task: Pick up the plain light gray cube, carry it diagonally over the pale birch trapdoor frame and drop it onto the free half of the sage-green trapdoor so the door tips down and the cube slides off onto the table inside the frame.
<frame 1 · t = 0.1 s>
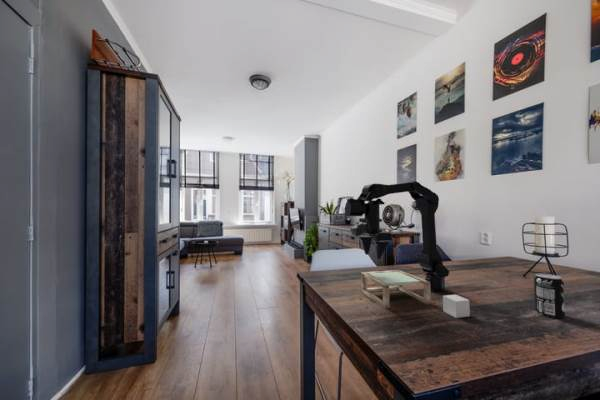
hand: (372, 256, 94), 15 cm above the table, tool pointing down, fingers open, 9 cm apart
beverage can: (549, 315, 76), on the table
trapdoor: (393, 278, 92), point 7 cm above the table, hinge at 0.0°
plain light gray cube: (456, 313, 77), on the table
trapdoor frame: (393, 297, 91), on the table
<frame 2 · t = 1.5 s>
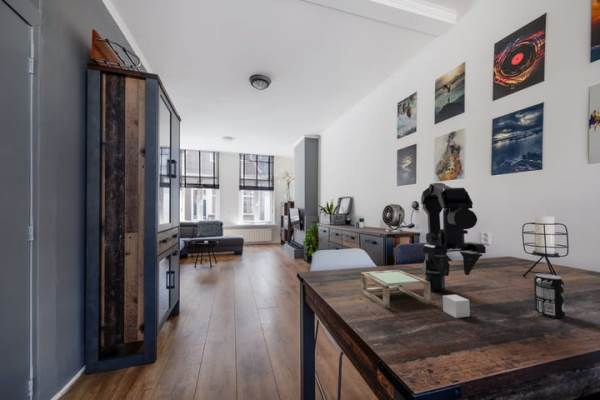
hand: (454, 275, 78), 12 cm above the table, tool pointing down, fingers open, 9 cm apart
nothing on the table moved.
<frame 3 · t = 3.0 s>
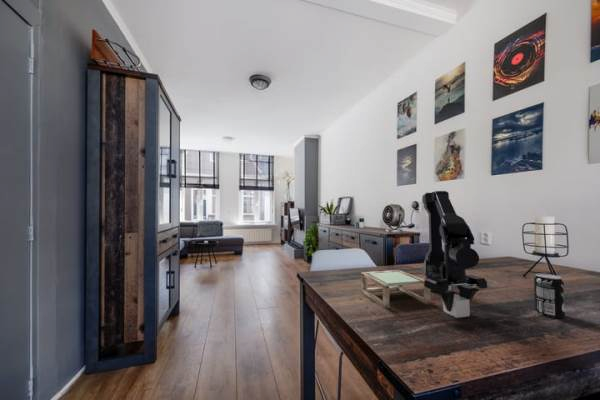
hand: (456, 310, 77), 1 cm above the table, tool pointing down, fingers closed on plain light gray cube, 5 cm apart
plain light gray cube: (456, 313, 77), on the table, touching gripper
everything else where it was.
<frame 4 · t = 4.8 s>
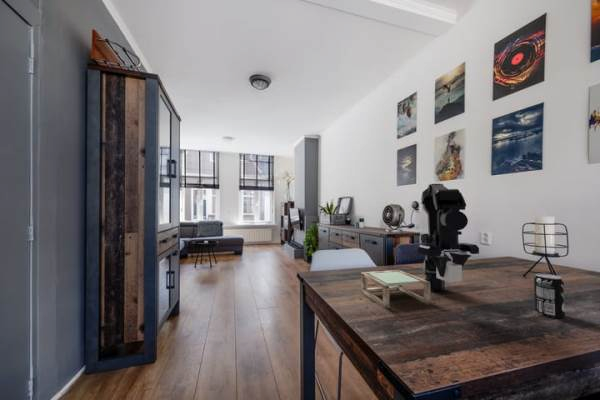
hand: (448, 276, 79), 11 cm above the table, tool pointing down, fingers closed on plain light gray cube, 5 cm apart
plain light gray cube: (449, 279, 79), point 10 cm above the table, touching gripper
everything else where it was.
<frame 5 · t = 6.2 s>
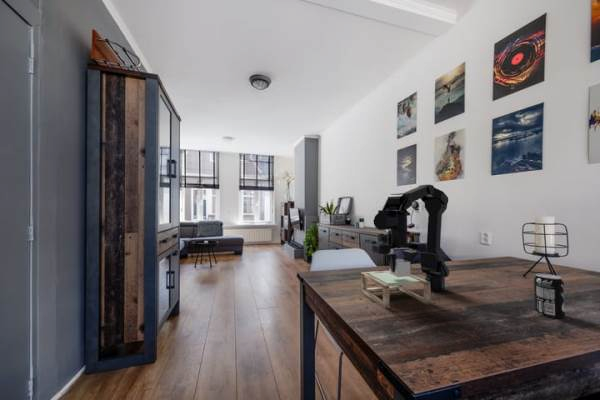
hand: (399, 271, 88), 10 cm above the table, tool pointing down, fingers closed on plain light gray cube, 5 cm apart
plain light gray cube: (399, 274, 88), point 9 cm above the table, touching gripper
everything else where it was.
when the fingers open (10 cm above the table, at t = 6.4 s): plain light gray cube drops 8 cm and tips over, point 2 cm above the table.
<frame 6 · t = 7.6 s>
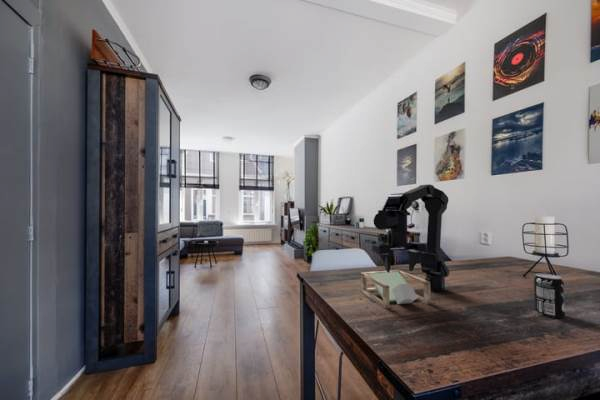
hand: (399, 271, 88), 10 cm above the table, tool pointing down, fingers open, 9 cm apart
trapdoor: (392, 285, 92), point 4 cm above the table, hinge at -28.3°
plain light gray cube: (401, 296, 87), point 2 cm above the table, tilted 51°
everything else where it was.
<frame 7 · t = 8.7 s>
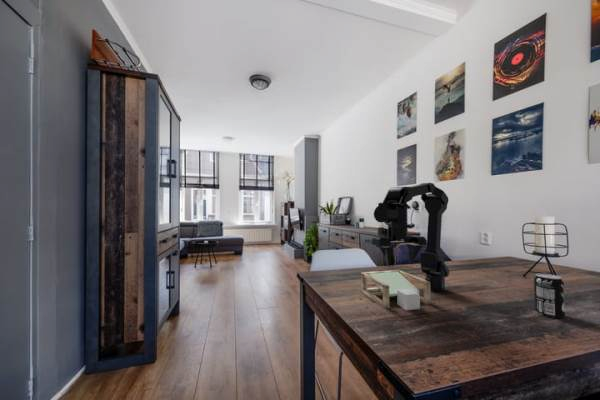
hand: (399, 264, 88), 13 cm above the table, tool pointing down, fingers open, 9 cm apart
trapdoor: (392, 283, 92), point 5 cm above the table, hinge at -17.3°
plain light gray cube: (403, 296, 85), point 2 cm above the table, tilted 90°
everything else where it was.
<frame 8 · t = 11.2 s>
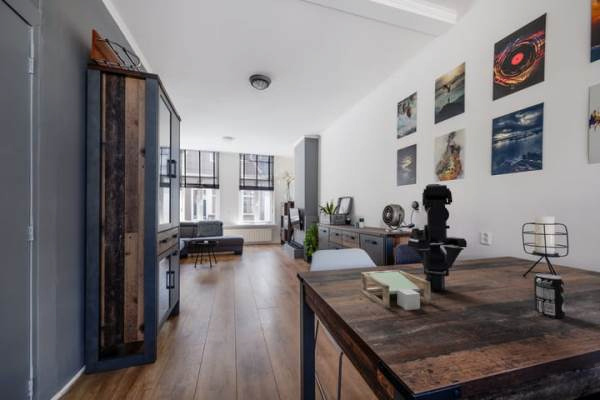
hand: (437, 268, 82), 13 cm above the table, tool pointing down, fingers open, 9 cm apart
trapdoor: (392, 281, 92), point 6 cm above the table, hinge at -12.4°, touching plain light gray cube
plain light gray cube: (403, 296, 85), point 3 cm above the table, tilted 91°, touching trapdoor
everything else where it was.
at the end: plain light gray cube point 2.5 cm above the table; plain light gray cube inside the target area on the trapdoor frame (2.2 cm from its centre), point 2.5 cm above the trapdoor frame's base; the gripper is holding nothing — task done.
